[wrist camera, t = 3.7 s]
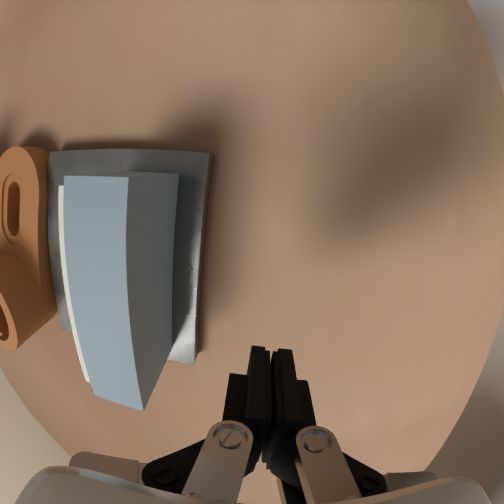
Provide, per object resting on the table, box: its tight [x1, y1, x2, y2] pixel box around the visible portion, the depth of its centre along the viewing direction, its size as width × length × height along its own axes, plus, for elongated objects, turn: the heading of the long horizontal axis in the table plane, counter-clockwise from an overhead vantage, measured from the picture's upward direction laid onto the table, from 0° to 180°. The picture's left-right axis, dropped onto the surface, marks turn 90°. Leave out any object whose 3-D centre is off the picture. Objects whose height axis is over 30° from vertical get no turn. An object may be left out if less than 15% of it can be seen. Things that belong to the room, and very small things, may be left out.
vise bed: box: [47, 149, 214, 364], centre depth 19 cm, size 14×16×2 cm
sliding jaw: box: [58, 171, 180, 411], centre depth 15 cm, size 4×13×7 cm, turn 172°
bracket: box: [0, 146, 58, 352], centre depth 16 cm, size 18×8×7 cm, turn 166°
